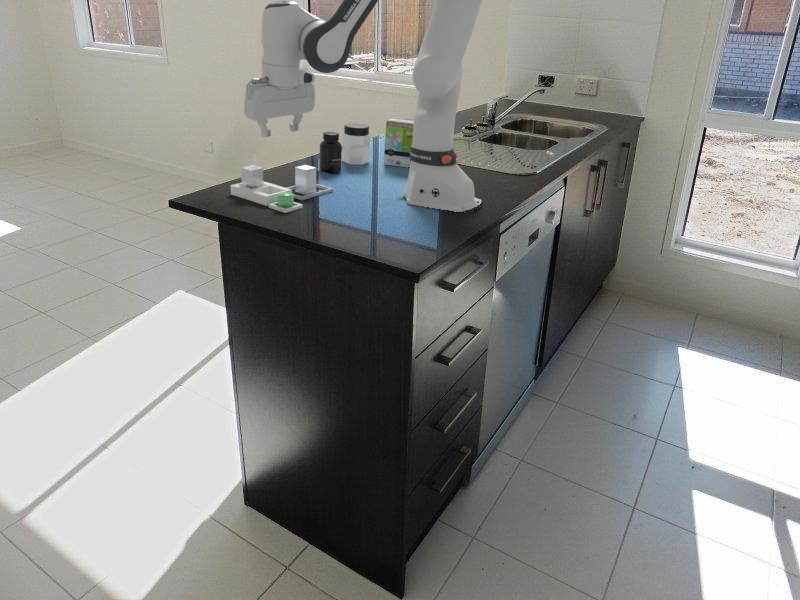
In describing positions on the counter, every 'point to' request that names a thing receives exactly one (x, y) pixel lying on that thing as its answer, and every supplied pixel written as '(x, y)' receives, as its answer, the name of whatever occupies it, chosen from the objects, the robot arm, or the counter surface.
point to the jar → (356, 144)
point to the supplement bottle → (330, 153)
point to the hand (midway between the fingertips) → (280, 133)
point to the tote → (325, 190)
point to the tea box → (398, 141)
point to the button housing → (285, 210)
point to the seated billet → (252, 177)
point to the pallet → (259, 193)
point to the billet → (305, 179)
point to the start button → (285, 199)
